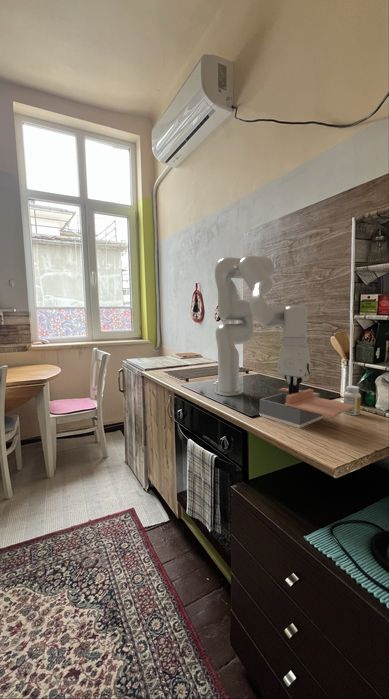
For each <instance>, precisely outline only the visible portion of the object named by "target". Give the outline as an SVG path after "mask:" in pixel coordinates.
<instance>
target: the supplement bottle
mask: <svg viewBox="0 0 389 699" xmlns="http://www.w3.org/2000/svg"><path fill="white" fill-rule="evenodd" d="M359 391H360V386H356V385H347V386H346V391H345V392H344V393H343V403H347V404H351V405H355V408H353V409H350V410H348V411H346V412H344V414H345V415H348V416H349V415H350V416H359V415H360V413H361V399H362V395H361V393H360V392H359Z"/></svg>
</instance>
